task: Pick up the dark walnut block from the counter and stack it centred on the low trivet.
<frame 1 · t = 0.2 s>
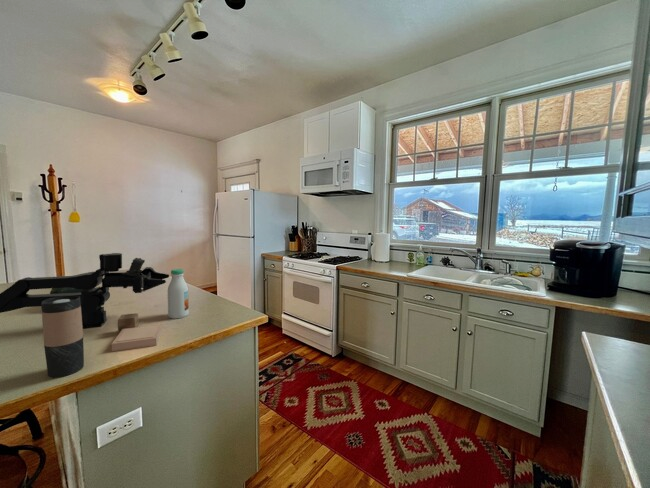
hand: (167, 278, 112), 16 cm above the table, tool horizontal, fingers open, 9 cm apart
walnut block: (128, 332, 99), on the table
travel mug: (66, 371, 74), on the table
milk bottle: (178, 316, 115), on the table
trivet: (139, 340, 92), on the table
squash: (73, 306, 123), on the table
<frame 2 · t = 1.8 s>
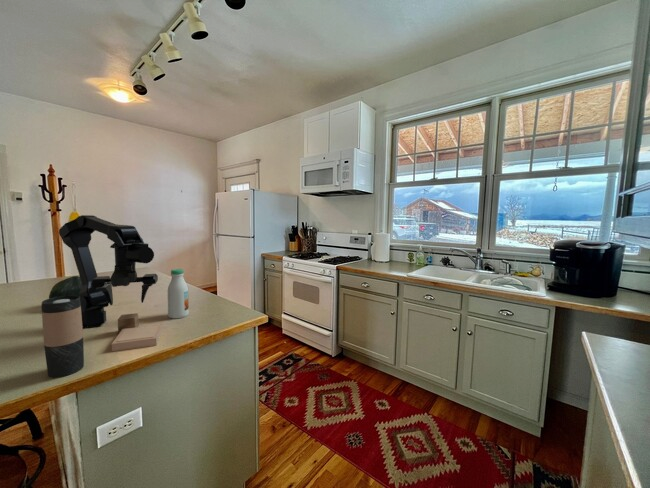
hand: (127, 303, 98), 11 cm above the table, tool pointing down, fingers open, 9 cm apart
nothing on the table moved.
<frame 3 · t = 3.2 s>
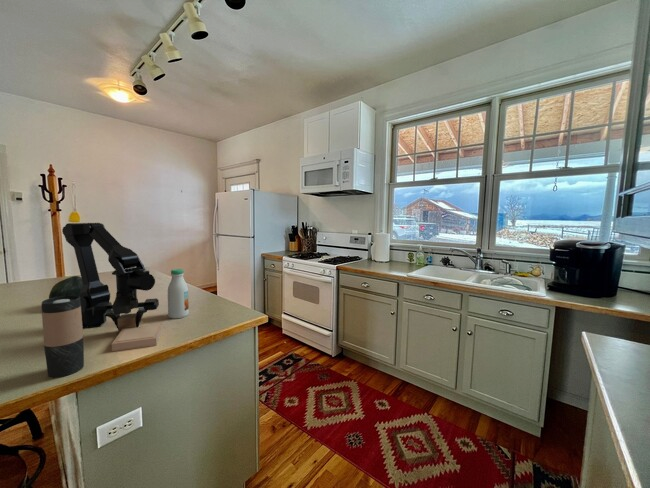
hand: (128, 329, 98), 1 cm above the table, tool pointing down, fingers closed on walnut block, 5 cm apart
walnut block: (128, 331, 99), on the table, touching gripper
everything else where it was.
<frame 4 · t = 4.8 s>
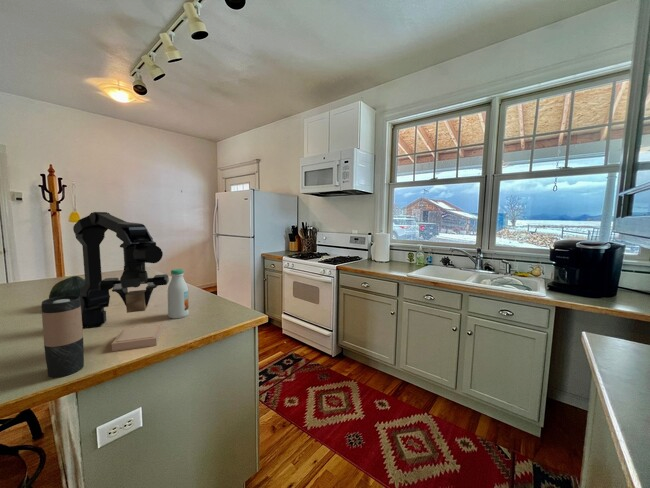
hand: (137, 306, 92), 12 cm above the table, tool pointing down, fingers closed on walnut block, 5 cm apart
walnut block: (137, 309, 92), point 11 cm above the table, touching gripper
everything else where it was.
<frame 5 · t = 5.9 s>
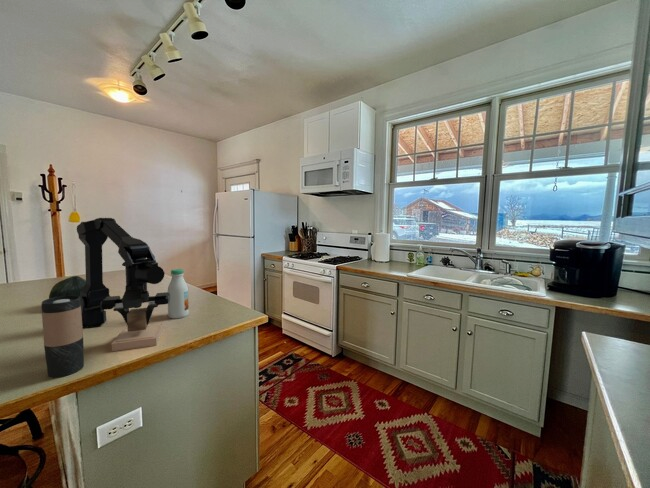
hand: (138, 324, 92), 5 cm above the table, tool pointing down, fingers closed on walnut block, 5 cm apart
walnut block: (138, 327, 92), point 4 cm above the table, touching gripper
everything else where it was.
when the fingers open (5 cm above the table, at t = 6.4 s): walnut block drops 1 cm, resting on trivet.
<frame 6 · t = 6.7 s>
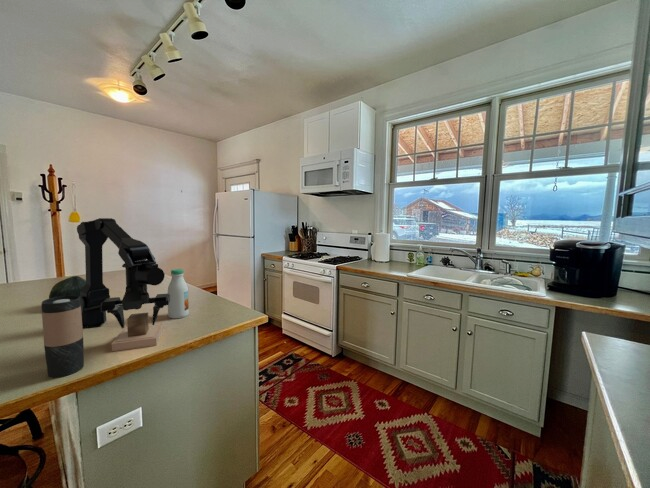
hand: (138, 326, 92), 5 cm above the table, tool pointing down, fingers open, 8 cm apart
walnut block: (138, 332, 92), point 3 cm above the table, touching trivet
everything else where it was.
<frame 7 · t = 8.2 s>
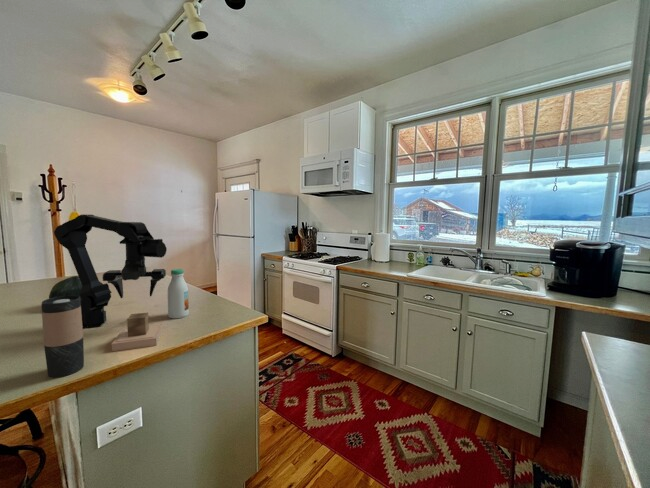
hand: (136, 297, 102), 12 cm above the table, tool pointing down, fingers open, 9 cm apart
nothing on the table moved.
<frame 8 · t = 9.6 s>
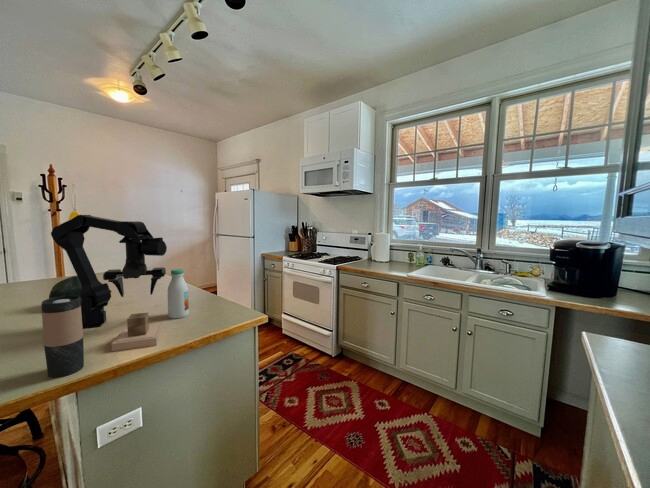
hand: (137, 295, 103), 12 cm above the table, tool pointing down, fingers open, 9 cm apart
nothing on the table moved.
at the end: walnut block inside the target area on the trivet (0.0 cm from its centre), point 2.7 cm above the trivet's base; walnut block tilted 0°; the gripper is holding nothing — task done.
